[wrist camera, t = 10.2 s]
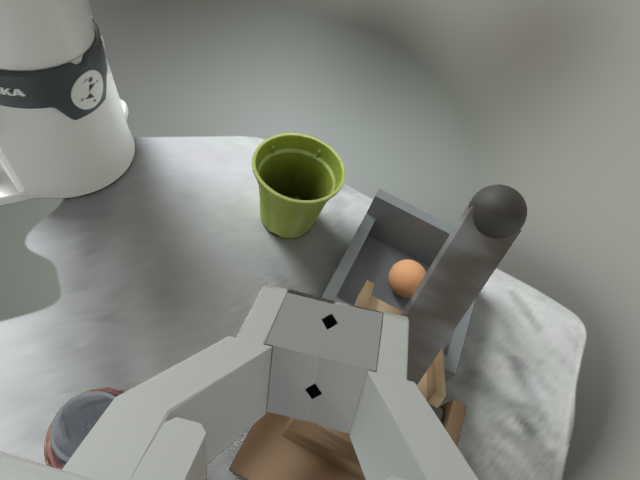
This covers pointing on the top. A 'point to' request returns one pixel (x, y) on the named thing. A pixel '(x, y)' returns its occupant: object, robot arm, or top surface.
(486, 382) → the top surface
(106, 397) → the supplement bottle
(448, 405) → the lever stand
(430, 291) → the launcher
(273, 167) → the plant pot
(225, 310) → the top surface
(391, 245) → the bin
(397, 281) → the ball
